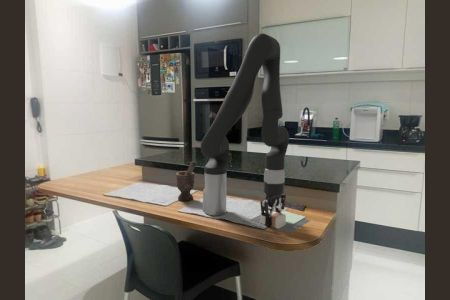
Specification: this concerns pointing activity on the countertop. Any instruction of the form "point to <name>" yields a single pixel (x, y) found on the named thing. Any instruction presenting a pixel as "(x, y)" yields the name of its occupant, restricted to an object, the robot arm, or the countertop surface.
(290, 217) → the mat
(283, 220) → the card box
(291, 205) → the chocolate bar
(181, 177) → the mortar and pestle
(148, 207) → the countertop surface
